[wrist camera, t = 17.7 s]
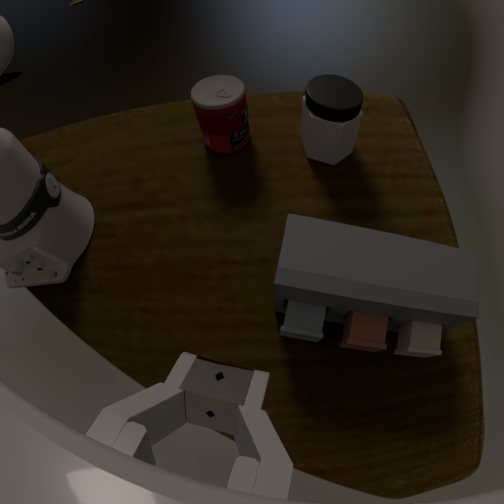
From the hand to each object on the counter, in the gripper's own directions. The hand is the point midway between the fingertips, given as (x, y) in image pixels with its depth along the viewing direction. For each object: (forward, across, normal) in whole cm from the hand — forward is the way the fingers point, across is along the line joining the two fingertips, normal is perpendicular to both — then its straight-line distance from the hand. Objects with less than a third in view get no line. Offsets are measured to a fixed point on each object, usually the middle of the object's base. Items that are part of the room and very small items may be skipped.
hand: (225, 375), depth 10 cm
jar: (+46, -3, -5) cm, 46 cm away
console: (+28, -11, +12) cm, 33 cm away
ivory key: (+24, -18, +12) cm, 32 cm away
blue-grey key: (+24, -4, +12) cm, 27 cm away
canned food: (+45, +13, -4) cm, 47 cm away
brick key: (+24, -11, +12) cm, 29 cm away
